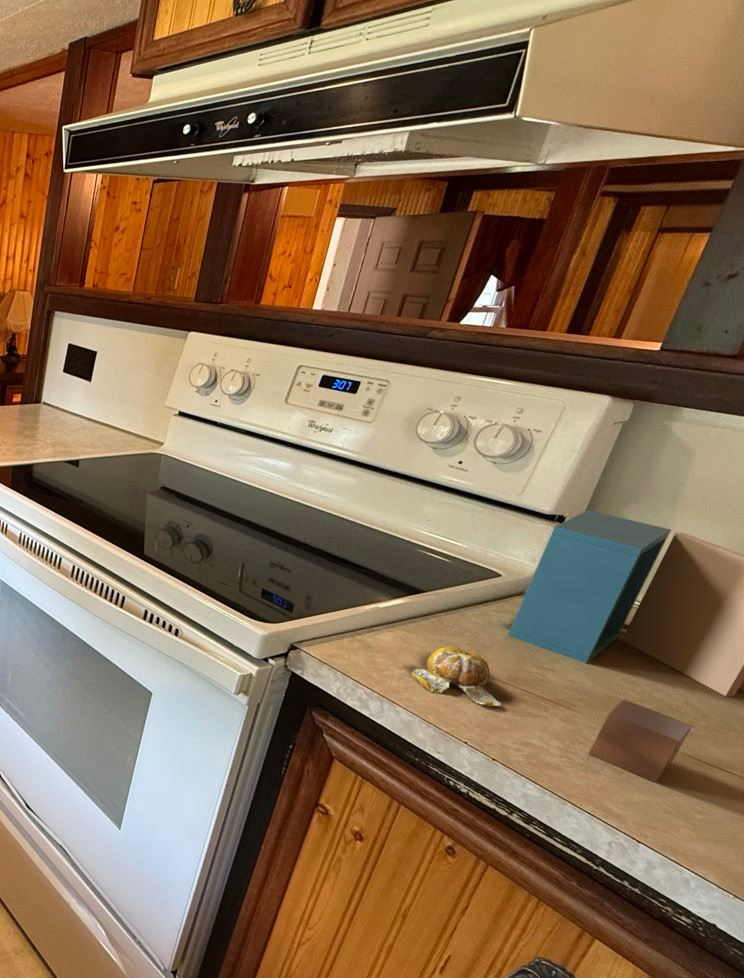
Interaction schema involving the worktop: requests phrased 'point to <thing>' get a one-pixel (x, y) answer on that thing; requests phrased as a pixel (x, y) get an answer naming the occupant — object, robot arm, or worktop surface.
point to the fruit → (457, 674)
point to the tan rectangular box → (695, 614)
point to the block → (639, 740)
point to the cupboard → (587, 584)
